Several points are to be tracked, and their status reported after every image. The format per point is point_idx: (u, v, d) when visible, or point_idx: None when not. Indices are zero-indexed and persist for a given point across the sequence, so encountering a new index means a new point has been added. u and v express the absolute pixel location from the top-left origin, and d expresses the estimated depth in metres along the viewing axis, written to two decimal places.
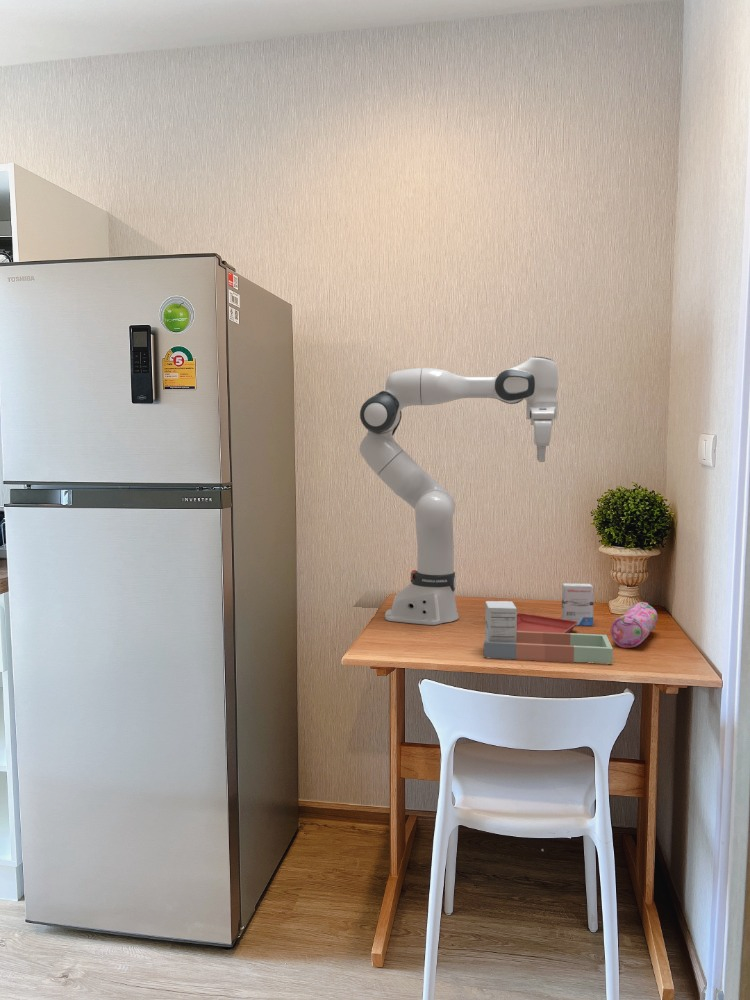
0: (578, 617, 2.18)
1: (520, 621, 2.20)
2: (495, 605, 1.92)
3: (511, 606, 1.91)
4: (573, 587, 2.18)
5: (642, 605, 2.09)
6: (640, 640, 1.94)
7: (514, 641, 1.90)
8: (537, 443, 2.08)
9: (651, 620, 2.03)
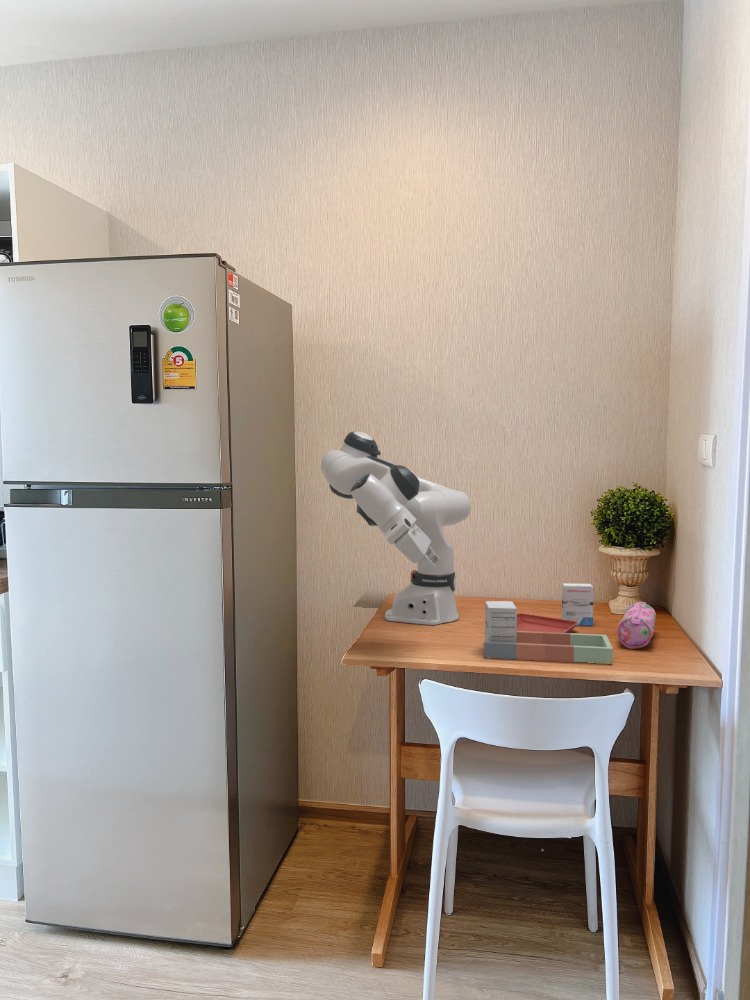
0: (578, 617, 2.18)
1: (520, 621, 2.20)
2: (495, 605, 1.92)
3: (511, 606, 1.91)
4: (573, 587, 2.18)
5: (642, 605, 2.09)
6: (648, 640, 1.94)
7: (514, 641, 1.90)
8: (413, 561, 1.85)
9: (653, 620, 2.04)
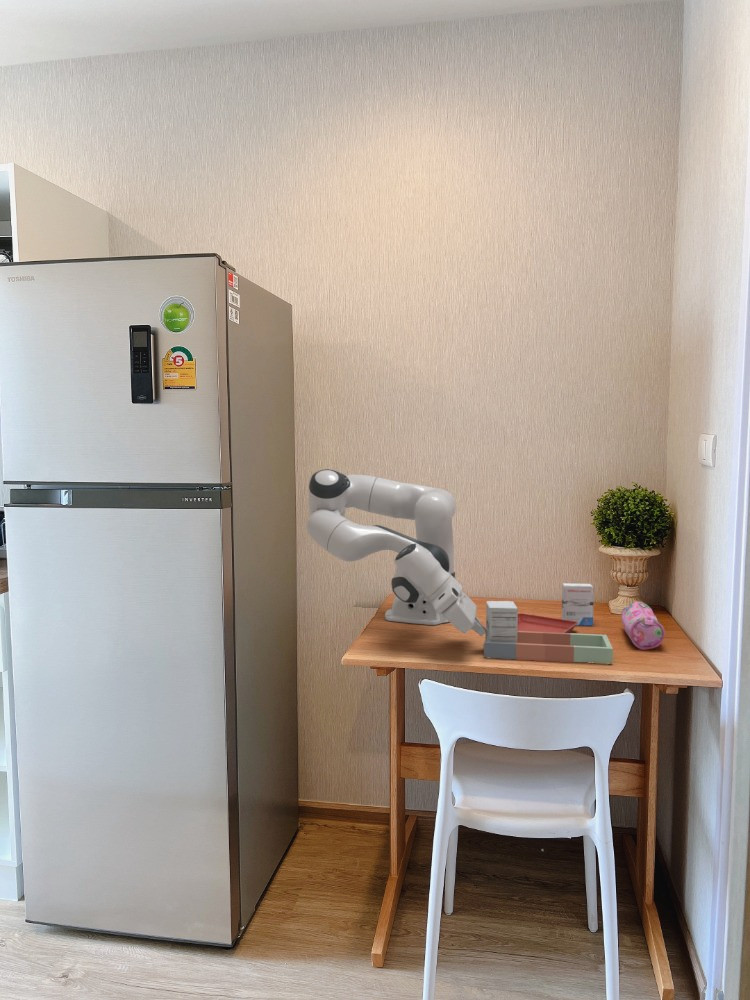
0: (578, 617, 2.18)
1: (520, 621, 2.20)
2: (496, 605, 1.92)
3: (512, 606, 1.91)
4: (573, 587, 2.18)
5: (642, 605, 2.09)
6: (661, 641, 1.94)
7: (515, 641, 1.90)
8: (463, 631, 1.85)
9: None
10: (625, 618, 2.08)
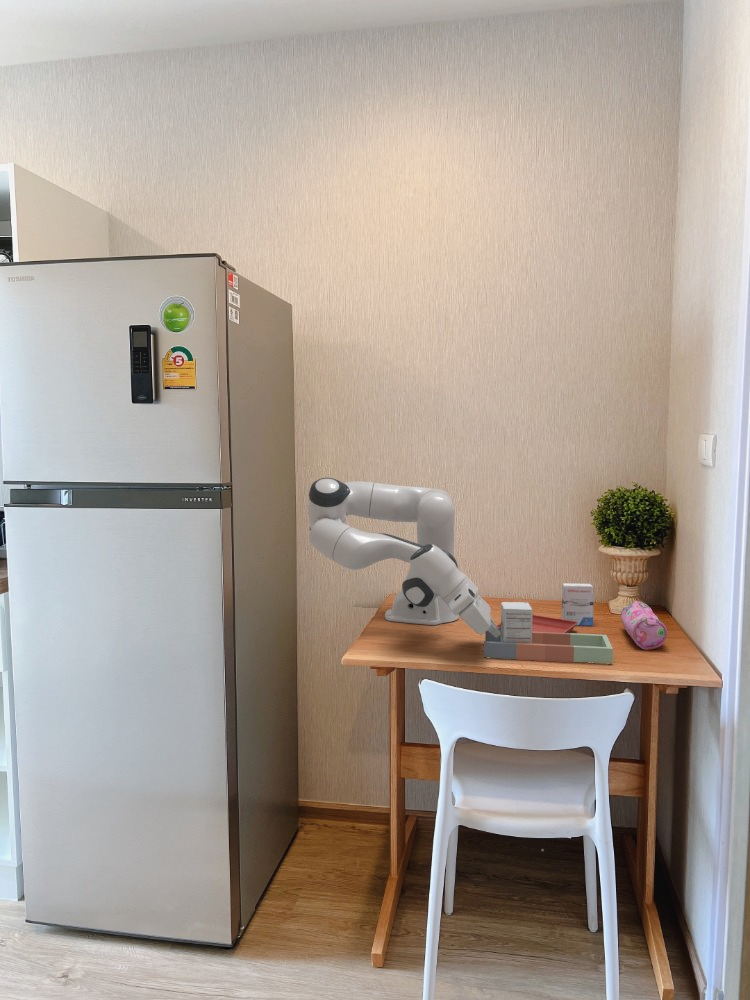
0: (578, 617, 2.18)
1: None
2: (511, 606, 1.90)
3: (527, 607, 1.89)
4: (573, 587, 2.18)
5: (642, 604, 2.09)
6: (663, 640, 1.94)
7: (530, 642, 1.89)
8: (479, 633, 1.83)
9: None
10: (626, 618, 2.08)
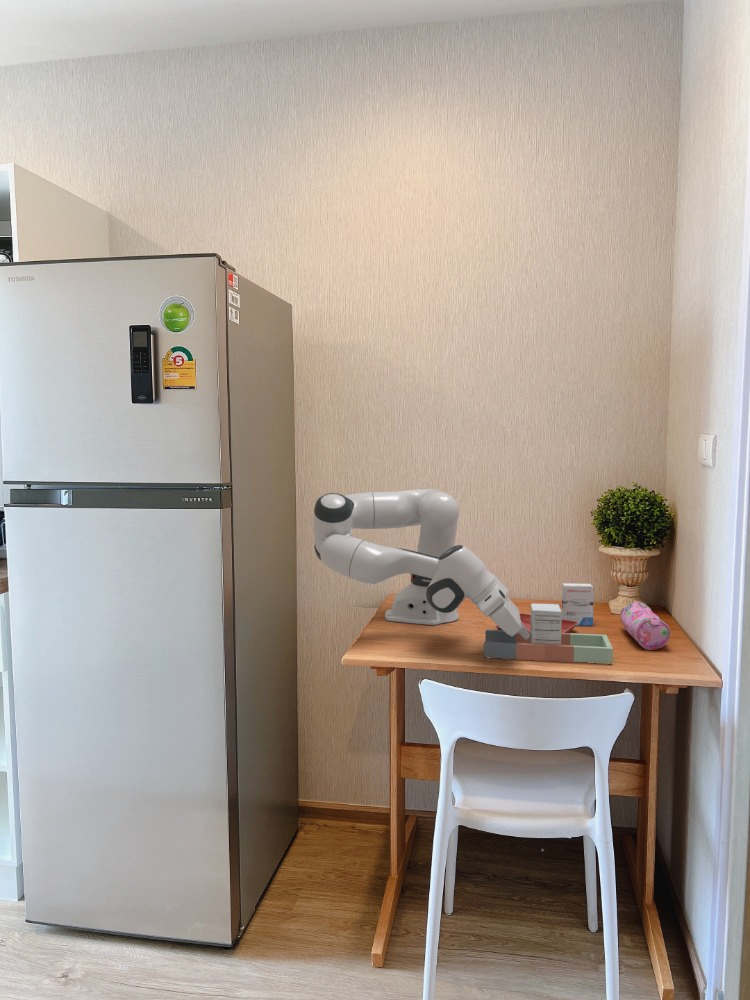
0: (578, 617, 2.18)
1: None
2: (540, 608, 1.88)
3: (556, 609, 1.87)
4: (573, 587, 2.18)
5: (642, 604, 2.09)
6: (666, 640, 1.94)
7: None
8: (510, 634, 1.81)
9: None
10: (626, 618, 2.08)
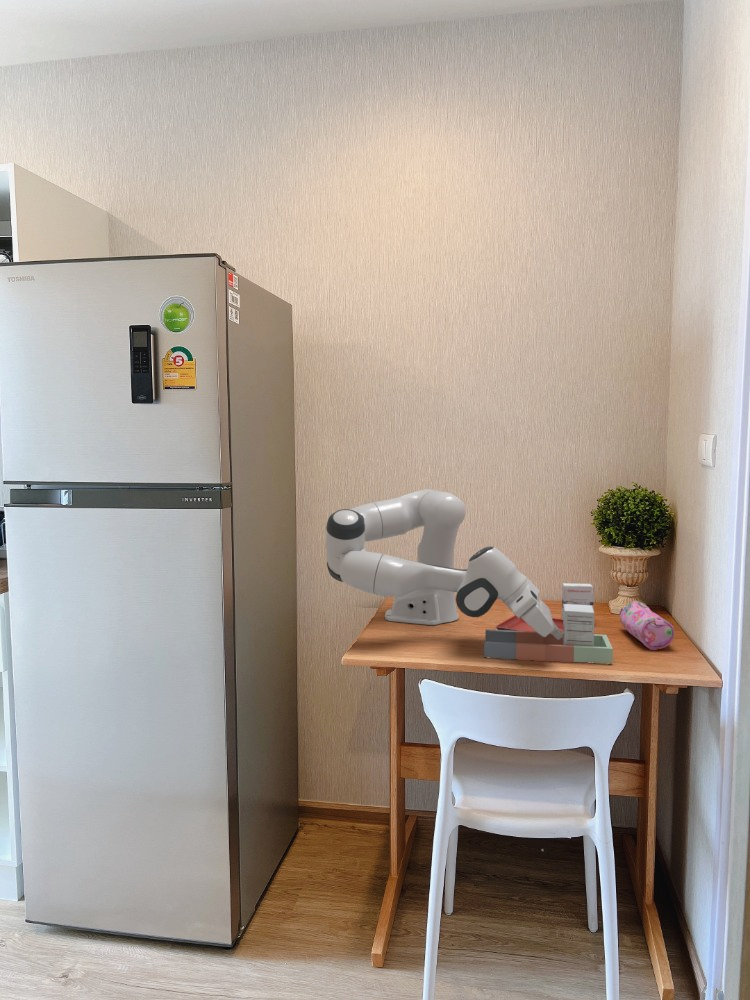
0: None
1: (520, 621, 2.20)
2: (572, 608, 1.88)
3: (589, 610, 1.86)
4: (573, 587, 2.18)
5: (642, 604, 2.09)
6: (671, 640, 1.94)
7: None
8: (543, 635, 1.81)
9: None
10: (627, 619, 2.07)
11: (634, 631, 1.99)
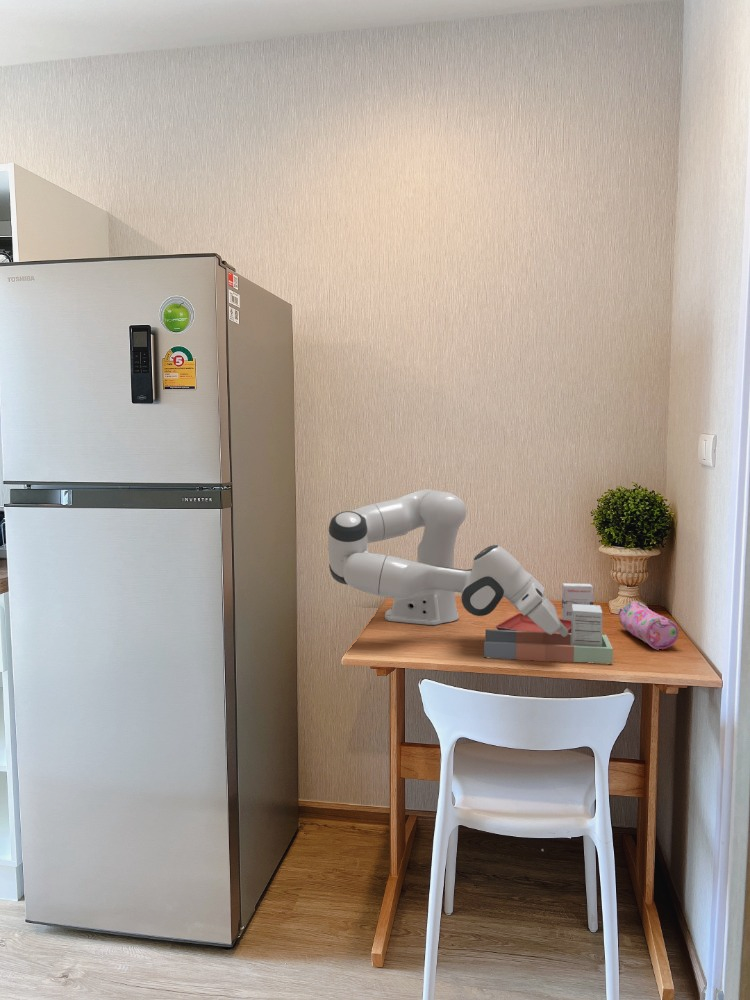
0: None
1: (520, 621, 2.20)
2: (580, 608, 1.88)
3: (597, 610, 1.86)
4: (573, 587, 2.18)
5: (641, 604, 2.09)
6: (675, 640, 1.95)
7: (599, 646, 1.86)
8: (549, 633, 1.82)
9: None
10: (628, 619, 2.07)
11: (638, 631, 1.99)
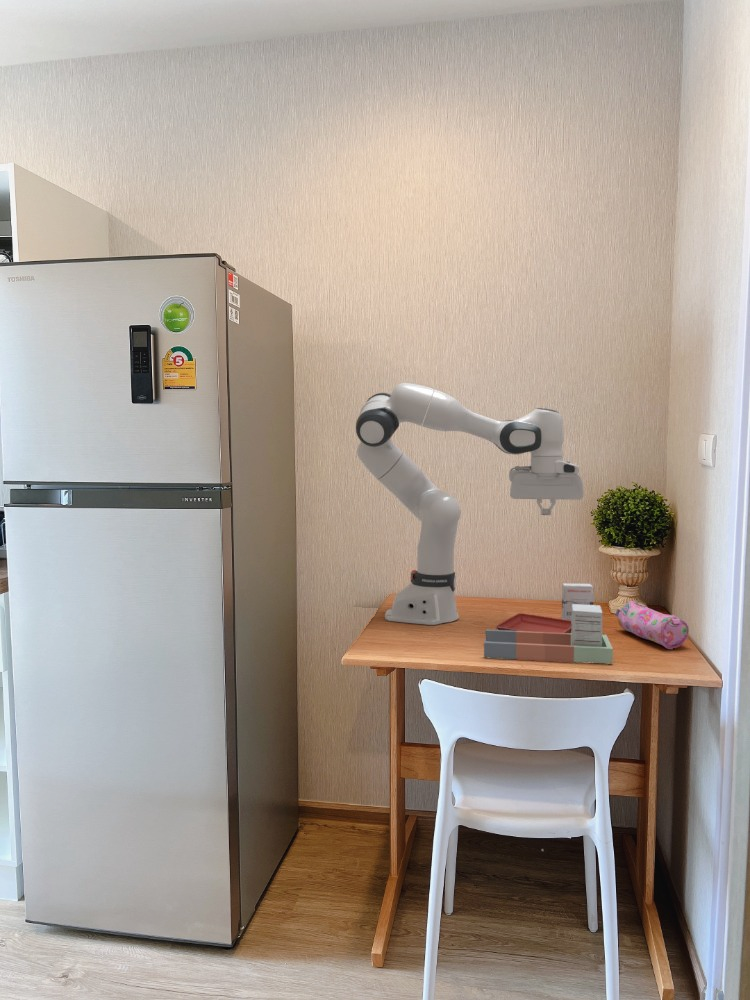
0: None
1: (520, 621, 2.20)
2: (580, 608, 1.88)
3: (597, 610, 1.86)
4: (573, 587, 2.18)
5: (641, 604, 2.10)
6: (685, 638, 1.96)
7: (599, 646, 1.86)
8: (582, 497, 2.08)
9: None
10: (631, 619, 2.06)
11: (648, 632, 1.98)
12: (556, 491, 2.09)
